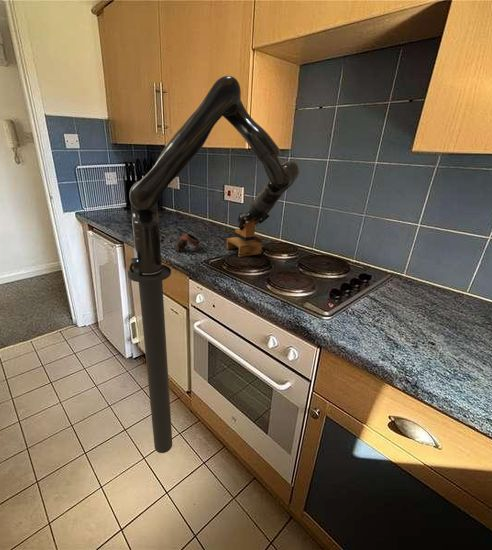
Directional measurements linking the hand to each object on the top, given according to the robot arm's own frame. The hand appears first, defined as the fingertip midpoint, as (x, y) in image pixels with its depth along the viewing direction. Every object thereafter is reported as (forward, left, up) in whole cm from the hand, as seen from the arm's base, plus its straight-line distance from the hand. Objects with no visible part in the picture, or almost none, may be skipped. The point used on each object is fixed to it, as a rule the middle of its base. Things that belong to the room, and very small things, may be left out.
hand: (245, 227), depth 130 cm
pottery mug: (-23, +11, -11) cm, 28 cm away
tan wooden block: (0, 0, -11) cm, 11 cm away
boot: (0, 0, -5) cm, 5 cm away
